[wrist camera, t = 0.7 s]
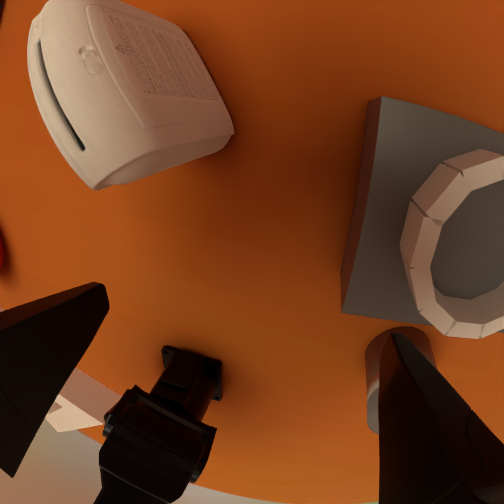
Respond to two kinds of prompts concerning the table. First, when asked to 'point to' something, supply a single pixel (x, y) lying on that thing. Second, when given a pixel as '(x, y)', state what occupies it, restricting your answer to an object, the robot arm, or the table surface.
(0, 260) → the ceramic cup
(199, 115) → the white rounded device
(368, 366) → the grey rounded block
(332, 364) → the table surface
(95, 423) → the triangle block
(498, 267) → the gray ring-topped block
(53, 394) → the robot arm
